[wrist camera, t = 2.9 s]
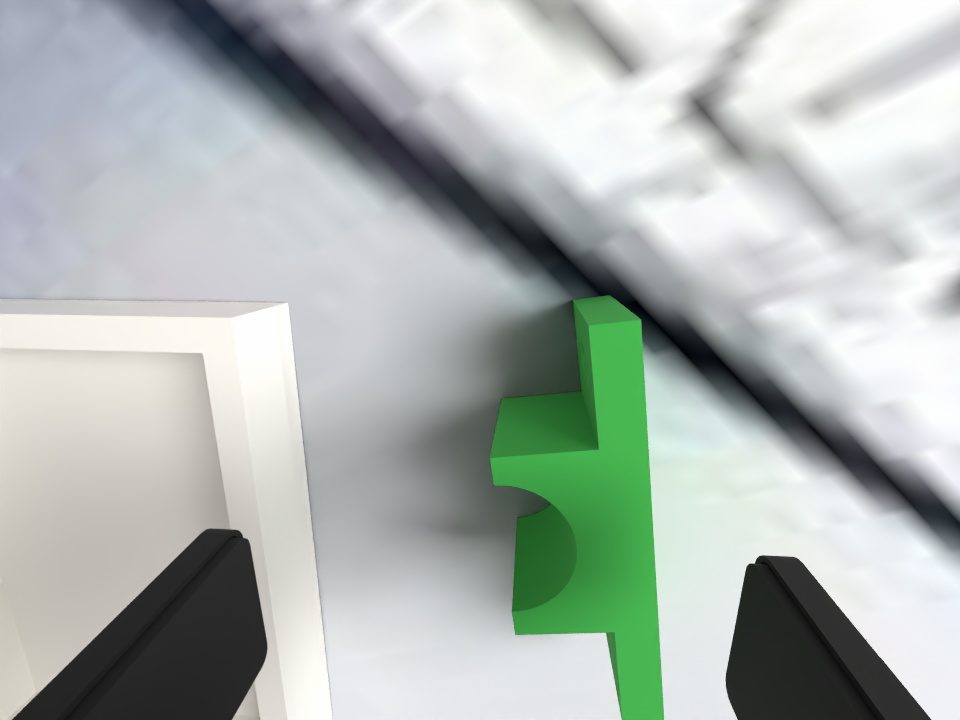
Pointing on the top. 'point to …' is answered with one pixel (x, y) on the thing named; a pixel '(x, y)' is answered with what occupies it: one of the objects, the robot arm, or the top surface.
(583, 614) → the pipe clamp
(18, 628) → the tray
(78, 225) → the top surface
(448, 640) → the top surface
